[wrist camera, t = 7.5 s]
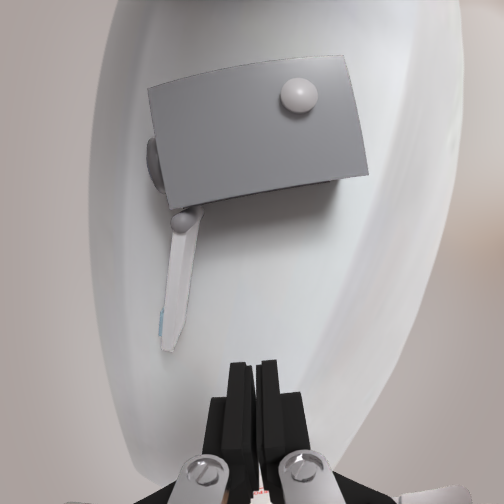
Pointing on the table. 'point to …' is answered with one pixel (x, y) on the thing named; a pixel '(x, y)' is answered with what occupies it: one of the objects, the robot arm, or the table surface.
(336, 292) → the table surface
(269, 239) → the table surface
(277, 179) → the grey knobbed panel
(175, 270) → the side door
